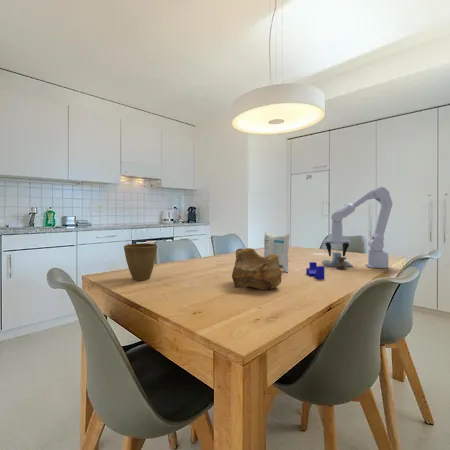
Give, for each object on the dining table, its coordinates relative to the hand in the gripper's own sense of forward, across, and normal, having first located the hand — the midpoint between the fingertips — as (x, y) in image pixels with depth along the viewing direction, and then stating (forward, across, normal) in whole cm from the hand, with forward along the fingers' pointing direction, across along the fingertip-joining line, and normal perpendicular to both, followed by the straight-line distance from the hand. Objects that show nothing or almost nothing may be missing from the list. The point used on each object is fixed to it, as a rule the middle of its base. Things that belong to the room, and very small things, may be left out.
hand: (336, 256), depth 162 cm
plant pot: (+5, -97, -49) cm, 109 cm away
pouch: (+5, -35, -18) cm, 40 cm away
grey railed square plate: (+5, 0, 0) cm, 5 cm away
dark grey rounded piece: (+5, 0, -11) cm, 12 cm away
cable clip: (+6, -17, -32) cm, 37 cm away
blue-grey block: (+4, 0, 0) cm, 4 cm away
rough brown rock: (+5, -46, -54) cm, 71 cm away
